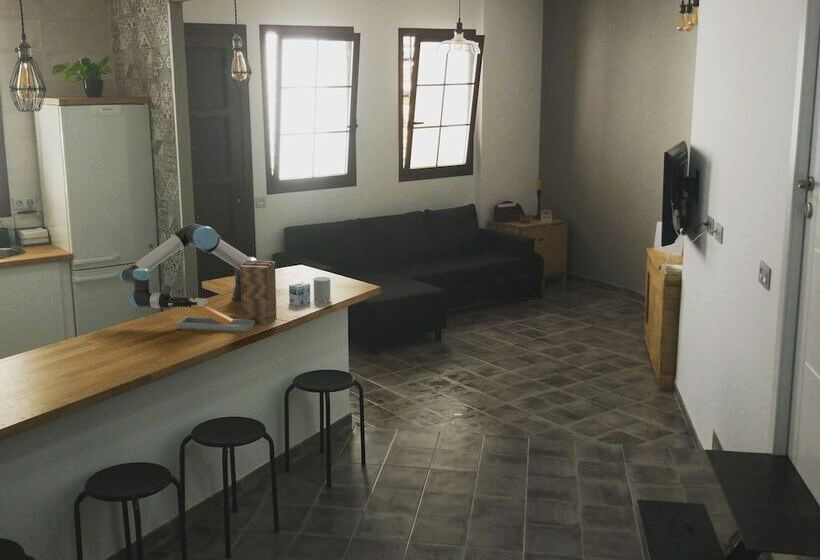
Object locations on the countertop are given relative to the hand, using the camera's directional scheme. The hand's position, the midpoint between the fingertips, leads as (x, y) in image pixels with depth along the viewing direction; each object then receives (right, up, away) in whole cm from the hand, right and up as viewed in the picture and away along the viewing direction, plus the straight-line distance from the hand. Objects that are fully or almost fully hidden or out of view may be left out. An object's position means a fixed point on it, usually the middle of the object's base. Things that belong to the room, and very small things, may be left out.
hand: (205, 302), depth 435 cm
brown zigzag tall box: (+24, -10, +14) cm, 30 cm away
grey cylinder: (+52, 0, +58) cm, 78 cm away
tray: (+5, -12, +2) cm, 14 cm away
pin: (+1, -6, +1) cm, 7 cm away
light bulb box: (+41, -2, +52) cm, 66 cm away
